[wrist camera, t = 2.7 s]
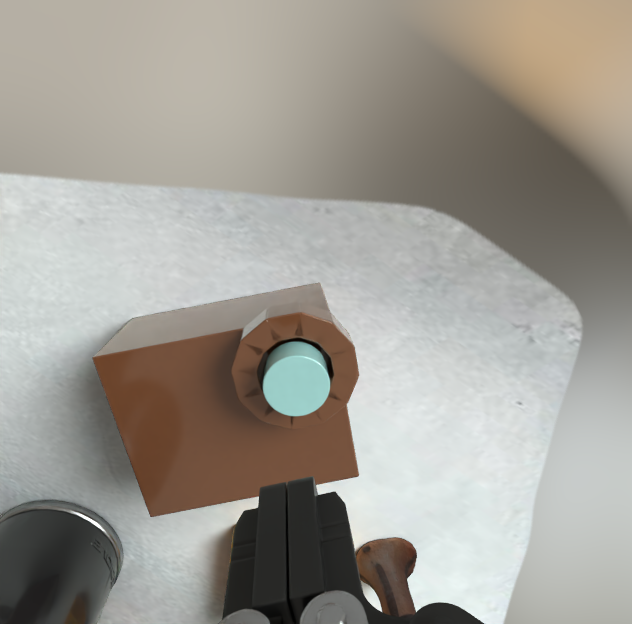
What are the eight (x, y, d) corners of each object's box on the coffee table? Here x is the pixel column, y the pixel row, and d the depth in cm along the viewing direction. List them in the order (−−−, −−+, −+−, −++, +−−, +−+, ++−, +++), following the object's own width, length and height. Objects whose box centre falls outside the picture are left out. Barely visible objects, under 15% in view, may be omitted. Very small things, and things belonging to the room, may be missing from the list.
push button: (271, 403, 22) (270, 422, 20) (258, 347, 21) (256, 362, 19) (331, 391, 22) (335, 409, 20) (320, 335, 21) (324, 349, 19)
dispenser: (175, 451, 31) (140, 543, 23) (127, 305, 28) (68, 356, 20) (355, 416, 31) (378, 496, 23) (329, 266, 28) (347, 303, 20)
